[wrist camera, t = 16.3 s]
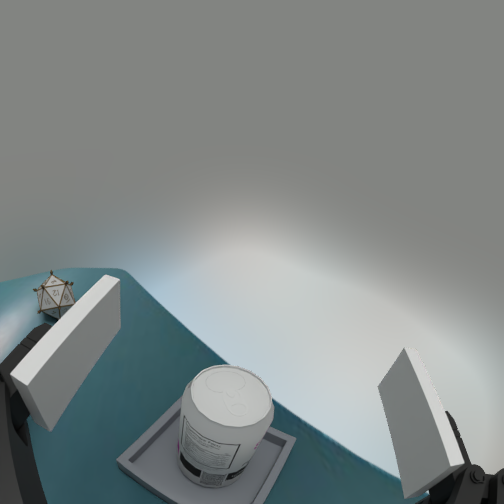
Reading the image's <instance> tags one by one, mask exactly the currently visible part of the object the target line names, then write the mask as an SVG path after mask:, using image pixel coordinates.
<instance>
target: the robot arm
mask: <svg viewBox="0 0 504 504" xmlns="http://www.w3.org/2000/svg"><path fill="white" fill-rule="evenodd" d="M120 328H121V324H120V279H117V278H114V277H111V276H108V275H104V276H103V277H102V278H101V279H100V280H99V281H98V282H97V283H96V284H95V285H94V286H93V287H92V288H91V289H90V290H89V291H88V292H87V293H85V294H84V295H83V296H82V297H81V298H80V299H79V300H78V301H77V302H76V303H75V304H74V305H73V306H72V307H71V308H70V309H69V310H68V311H67V312H66V313H65V314H64V315H63V316H62V317H61V318H60V319H59V320H58V322H57V323H56V324H55V325H54V326H51V325H49V324H47V323H44V324H42V325H40V326H38V327H36V328H34V329H33V330H32V331H31V332H30V333H29V334H28V335H27V336H26V338H24V339H23V340H22V341H21V342H20V345H19V344H18V345H17V347H16V348H15V349H14V350H13V351H12V352H11V353H10V354H9V355H8V356H7V357H6V358H5V359H4V361H3V362H2V363H1V364H0V504H47V501H46V498H45V495H44V491H43V488H42V485H41V481H40V478H39V474H38V470H37V467H36V462H35V458H34V454H33V449H32V444H31V439H30V434H29V428H28V423H27V421H26V419H27V418H28V416H29V415H31V417H32V418H33V420H34V422H35V423H37V424H38V425H40V426H41V427H43V428H45V429H46V430H48V431H50V432H51V431H52V429H53V428H54V426H55V425H56V423H57V421H58V420H59V418H60V417H61V415H62V413H63V412H64V410H65V409H66V407H67V405H68V404H69V402H70V401H71V399H72V398H73V396H74V395H75V393H76V392H77V390H78V389H79V387H80V386H81V384H82V383H83V381H84V380H85V378H86V377H87V375H88V374H89V372H90V371H91V369H92V368H93V366H94V365H95V363H96V362H97V360H98V359H99V358H100V356H101V355H102V353H103V352H104V350H105V349H106V348H107V346H108V345H109V343H110V342H111V340H112V339H113V338H114V336H115V335H116V333H117V332H118V331H119V329H120ZM378 389H379V393H380V396H381V400H382V403H383V407H384V411H385V415H386V418H387V422H388V426H389V430H390V434H391V438H392V442H393V446H394V450H395V454H396V459H397V464H398V468H399V473H400V478H401V483H402V488H403V493H404V498H405V499H406V498H412V497H417V496H420V495H421V494H423V493H425V492H426V491H428V490H429V494H430V495H428V496H427V497H425V498H423V499H422V500H420V501H419V502H417V503H415V504H504V468H503V469H501V470H500V471H499V472H497V473H496V474H495V475H490V474H485V472H484V470H483V469H482V468H481V467H480V466H478V465H475V464H474V465H472V464H471V462H470V460H469V457H468V454H467V451H466V449H465V446H464V444H463V441H462V438H460V433H459V431H458V430H457V429H458V428H457V426H456V423H455V421H454V419H453V418H452V417H451V415H450V414H449V413H448V411H444V408H443V406H442V404H441V401H440V399H439V396H438V394H437V392H436V390H435V387H434V385H433V383H432V381H431V379H430V377H429V374H428V372H427V370H426V368H425V366H424V364H423V362H422V360H421V358H420V356H419V354H418V352H417V350H416V349H412V348H405V347H404V348H403V350H402V352H401V353H400V355H399V357H398V358H397V359H396V361H395V362H394V364H393V365H392V367H391V368H390V370H389V371H388V373H387V374H386V376H385V377H384V378H383V380H382V381H381V383H380V384H379V386H378Z"/></svg>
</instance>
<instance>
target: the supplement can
mask: <svg viewBox="0 0 504 504" xmlns="http://www.w3.org/2000/svg"><path fill="white" fill-rule="evenodd" d="M273 414H274V406H273V403H272V396H271V393H270V390H269V388H268V386H267V385H266V384H265V383H264V381H263V380H262V379H261V378H260V377H259V376H257V375H256V374H254V373H252V372H251V371H249V370H246V369H244V368H241V367H239V366H231V365H218V366H212V367H210V368H207V369H205V370H202V371H201V372H200V373H199V374H198V375H197V376H196V377H195V378H194V379H193V380H192V381H191V382H190V383H189V384H188V385H187V386H186V389H185V391H184V394H183V396H182V404H181V414H180V425H179V436H178V448H177V459H178V465H179V467H180V469H181V471H182V472H183V474H184V475H185V476H186V477H188V478H189V479H190V480H191V481H192V482H194V483H197V484H199V485H202V486H204V487H213V488H219V487H223V486H228V485H230V484H232V483H233V482H235V481H236V480H238V479H239V477H240V476H241V474H242V473H243V471H244V470H245V468H246V466H247V465H248V463H249V461H250V460H251V458H252V456H253V454H254V453H255V451H256V449H257V447H258V446H259V444H260V442H261V440H262V439H263V437H264V435H265V433H266V431H267V429H268V428H269V426H270V424H271V422H272V420H273Z"/></svg>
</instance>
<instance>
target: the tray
mask: <svg viewBox="0 0 504 504" xmlns="http://www.w3.org/2000/svg"><path fill="white" fill-rule="evenodd" d="M182 396H183V395H182ZM182 396H181V397H180V398H179V399H178V400H177V401H176V402H175V403H174V404H173V405H172V406H171V407H170V408H169V409H168V410H167V411H166V412H165V413H164V414H163V415H162V416H161V417H160V418H159V419H158V420H157V421H156V422H155V423H154V424H153V425H152V426H151V427H150V428H149V429H148V430H147V431H146V432H145V433H144V434H143V435H142V436H141V437H140V438H139V439H137V440H136V441H135V442H134V443H133V444H132V445H131V446H130V447H129V448H128V449H127V450H126V451H125V452H124V453H123V454H122V455H120V456H119V457H118V458H117V459H116V461H117V464H118V467H119V469H120V470H122V471H123V472H124V473H125V474H127V475H128V476H129V477H131V478H132V479H133V480H135V481H136V482H137V483H139V484H140V485H142V486H143V487H144V488H146V489H147V490H149V491H150V492H152V493H153V494H155V495H156V496H158V497H159V498H161V499H162V500H164V501H165V502H167V503H168V504H263V503H264V501H265V499H266V497H267V496H268V494H269V492H270V490H271V488H272V486H273V485H274V483H275V481H276V479H277V477H278V475H279V473H280V471H281V469H282V467H283V465H284V463H285V461H286V459H287V457H288V455H289V453H290V451H291V449H292V447H293V445H294V443H295V441H296V438H295V437H292V436H290V435H287V434H285V433H283V432H281V431H278V430H276V429H274V428H272V427H270V426H269V428H268V429H267V431H266V433H265V435H264V437H263V439H262V440H261V442H260V444H259V446H258V447H257V449H256V451H255V453H254V454H253V456H252V458H251V460H250V461H249V463H248V465H247V466H246V468H245V470H244V471H243V473H242V474H241V476H240V477H239V479H238V480H236V481H235V482H233V483H232V484H230V485H228V486H223V487H219V488H213V487H204V486H202V485H199V484H197V483H194V482H192V481H191V480H190V479H189V478H188V477H186V476H185V475H184V474H183V472H182V471H181V469H180V467H179V465H178V459H177V448H178V436H179V425H180V414H181V404H182Z"/></svg>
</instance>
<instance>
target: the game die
mask: <svg viewBox="0 0 504 504" xmlns="http://www.w3.org/2000/svg"><path fill="white" fill-rule="evenodd" d="M50 274H51V276H50V277H49V278H48V279H47V280H46V281H45V282H44V283H43V284H42V285H41V286H40V287H39V288H38V289H33V290H34V291H35V292H36V291H37V296H38V301H39V306H40V310H39V311H38V313H41V311H42V312H44V313H46V314H48V315H50V316H52V317H54V318H56V319H58V320H59V319H60V318H61V317H62V316H63V315H64V314H65V313H66V312H67V311H68V310H69V309H70V308H71V307H72V306H73V305H74V304H75V299H74V295H73V292H72V288H71V285H73V283H74V282H71V283H70V284H69V282H68V281H66V282H65V281H63V280H61V279H59V278H58V277H56V276H54V275H53V272H52V270H51V272H50ZM38 313H37V314H38Z"/></svg>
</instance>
